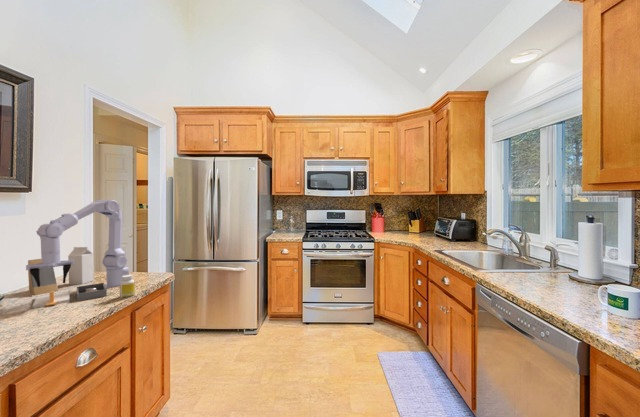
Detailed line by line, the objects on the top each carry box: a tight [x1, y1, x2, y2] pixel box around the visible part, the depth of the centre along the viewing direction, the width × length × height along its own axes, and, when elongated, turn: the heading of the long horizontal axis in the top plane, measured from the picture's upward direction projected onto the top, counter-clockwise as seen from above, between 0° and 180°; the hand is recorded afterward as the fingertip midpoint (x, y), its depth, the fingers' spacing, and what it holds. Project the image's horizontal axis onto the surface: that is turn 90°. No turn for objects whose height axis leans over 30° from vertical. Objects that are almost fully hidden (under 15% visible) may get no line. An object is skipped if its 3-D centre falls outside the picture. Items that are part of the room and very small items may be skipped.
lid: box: [31, 290, 71, 309], centre depth 121 cm, size 11×17×5 cm, turn 41°
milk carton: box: [67, 246, 94, 286], centre depth 150 cm, size 7×7×19 cm
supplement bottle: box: [119, 274, 136, 300], centre depth 126 cm, size 5×5×10 cm
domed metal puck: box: [86, 287, 97, 291], centre depth 132 cm, size 4×4×2 cm
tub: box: [76, 282, 108, 302], centre depth 129 cm, size 10×14×4 cm
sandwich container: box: [27, 258, 59, 296], centre depth 136 cm, size 9×15×15 cm, turn 52°
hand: (51, 284), depth 119 cm, fingers open, 7 cm apart
